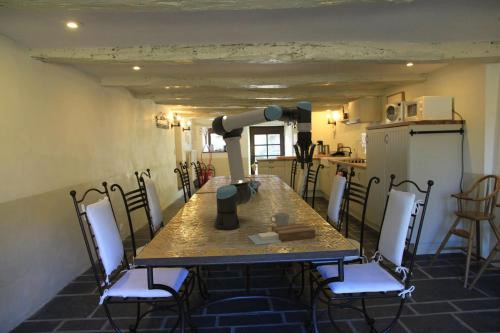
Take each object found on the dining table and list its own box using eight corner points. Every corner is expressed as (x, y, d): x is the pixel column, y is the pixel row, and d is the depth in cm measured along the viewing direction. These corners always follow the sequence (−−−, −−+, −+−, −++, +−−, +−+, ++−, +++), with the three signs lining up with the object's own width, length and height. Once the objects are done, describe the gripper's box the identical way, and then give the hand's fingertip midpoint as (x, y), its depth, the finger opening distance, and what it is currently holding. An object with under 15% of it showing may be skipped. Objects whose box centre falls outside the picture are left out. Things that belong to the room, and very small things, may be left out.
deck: (272, 233, 173) (271, 226, 172) (302, 230, 178) (302, 223, 178) (282, 241, 159) (282, 233, 159) (315, 237, 165) (315, 230, 164)
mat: (247, 236, 169) (247, 235, 169) (270, 233, 173) (270, 233, 173) (256, 245, 155) (256, 244, 155) (281, 242, 159) (281, 241, 159)
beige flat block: (258, 237, 166) (258, 233, 166) (274, 235, 169) (274, 231, 169) (261, 240, 160) (261, 237, 160) (278, 238, 163) (278, 235, 163)
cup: (269, 228, 183) (269, 214, 182) (271, 224, 191) (270, 211, 190) (289, 229, 181) (289, 215, 180) (289, 225, 189) (289, 211, 188)
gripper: (296, 131, 167) (296, 176, 169) (318, 130, 171) (319, 175, 173) (290, 131, 174) (290, 175, 176) (312, 131, 178) (312, 174, 180)
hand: (304, 175), depth 174 cm, fingers closed
